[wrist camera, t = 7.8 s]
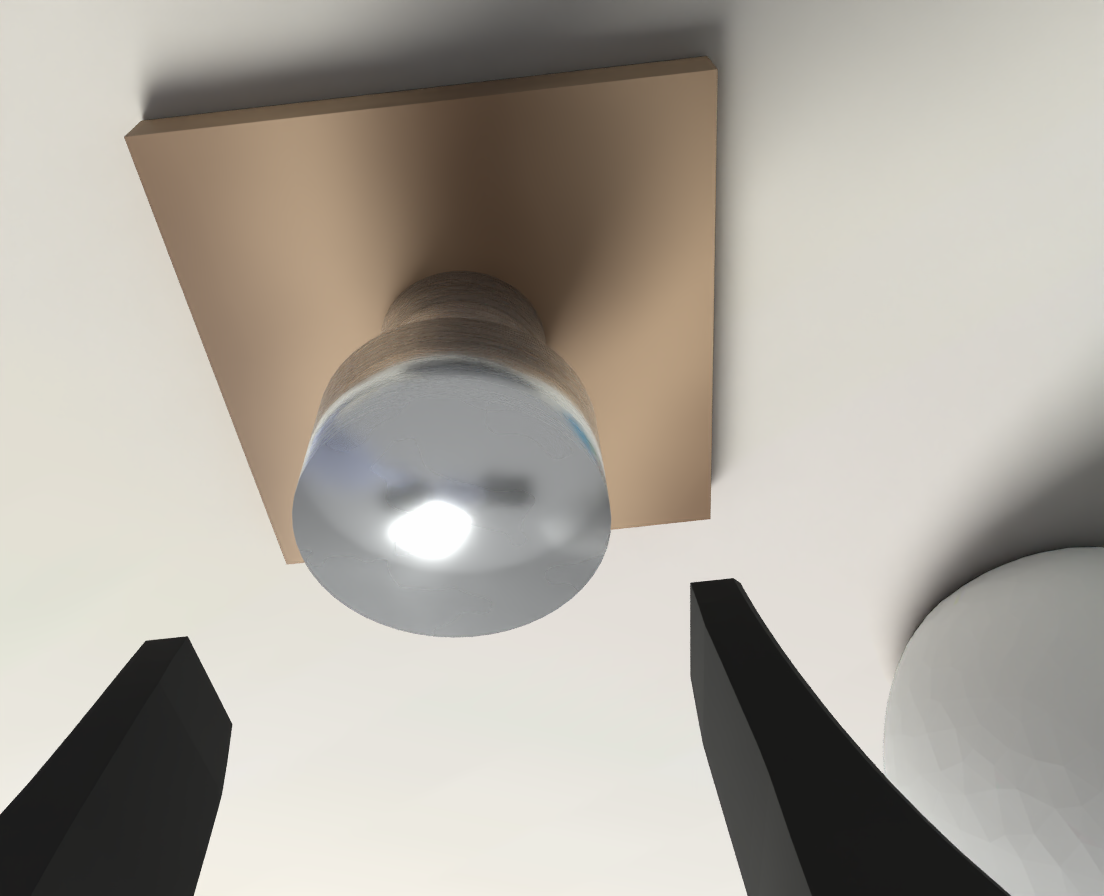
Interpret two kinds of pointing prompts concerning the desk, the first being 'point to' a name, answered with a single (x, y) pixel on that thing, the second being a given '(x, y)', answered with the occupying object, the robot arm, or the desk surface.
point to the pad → (458, 251)
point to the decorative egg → (1010, 722)
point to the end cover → (454, 468)
